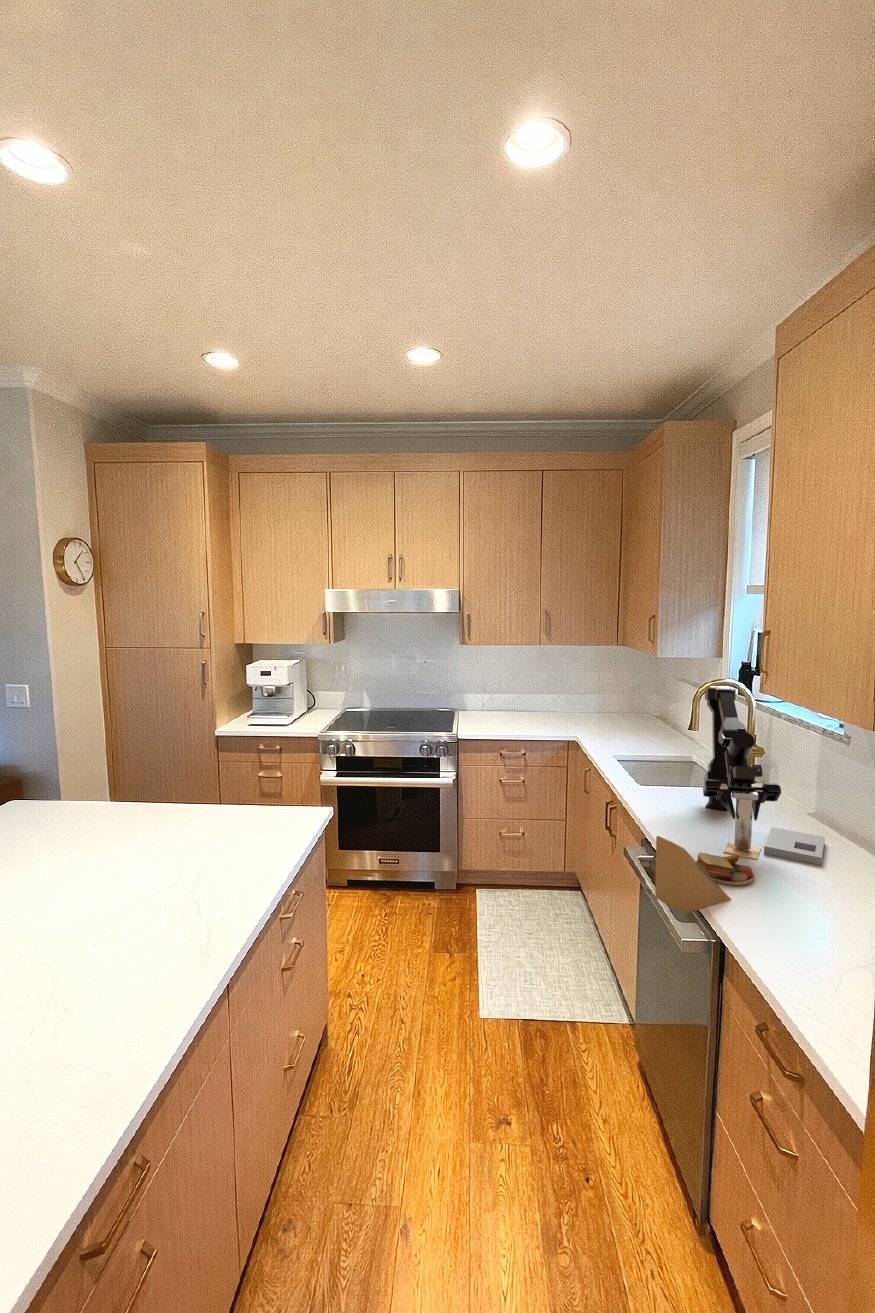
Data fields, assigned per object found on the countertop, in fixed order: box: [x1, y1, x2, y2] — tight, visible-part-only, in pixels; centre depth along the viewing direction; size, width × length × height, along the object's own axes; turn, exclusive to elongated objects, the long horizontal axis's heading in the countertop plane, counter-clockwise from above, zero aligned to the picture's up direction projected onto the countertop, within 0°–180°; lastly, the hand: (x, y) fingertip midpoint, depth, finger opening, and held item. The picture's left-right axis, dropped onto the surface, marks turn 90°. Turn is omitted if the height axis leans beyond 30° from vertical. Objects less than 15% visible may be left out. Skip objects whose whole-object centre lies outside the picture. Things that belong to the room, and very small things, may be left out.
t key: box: [731, 791, 758, 850], centre depth 164 cm, size 4×6×15 cm, turn 75°
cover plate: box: [763, 826, 826, 866], centre depth 166 cm, size 16×13×2 cm
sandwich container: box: [654, 835, 732, 914], centre depth 139 cm, size 9×15×15 cm, turn 113°
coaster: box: [723, 840, 762, 861], centre depth 164 cm, size 8×8×1 cm
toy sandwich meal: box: [695, 851, 756, 887], centre depth 151 cm, size 12×14×5 cm
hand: (744, 819), depth 162 cm, fingers closed on t key, 5 cm apart
